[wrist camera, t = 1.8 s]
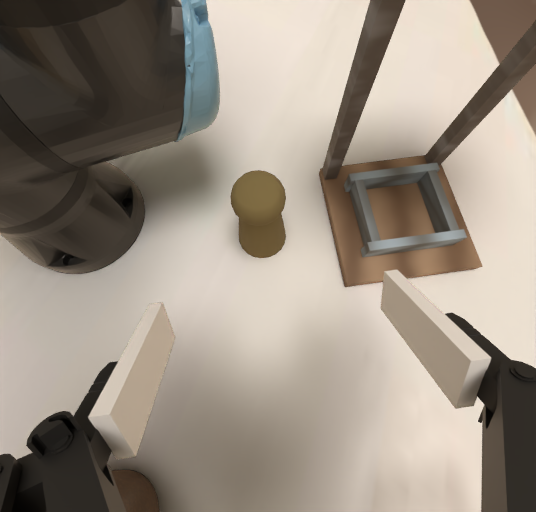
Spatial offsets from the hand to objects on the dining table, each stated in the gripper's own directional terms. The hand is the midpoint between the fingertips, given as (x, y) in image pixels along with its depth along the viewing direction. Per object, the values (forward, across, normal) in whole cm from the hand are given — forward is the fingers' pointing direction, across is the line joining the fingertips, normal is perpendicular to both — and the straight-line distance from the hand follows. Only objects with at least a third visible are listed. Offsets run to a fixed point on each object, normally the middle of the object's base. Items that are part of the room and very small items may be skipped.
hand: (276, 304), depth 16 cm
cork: (+19, 0, -3) cm, 19 cm away
